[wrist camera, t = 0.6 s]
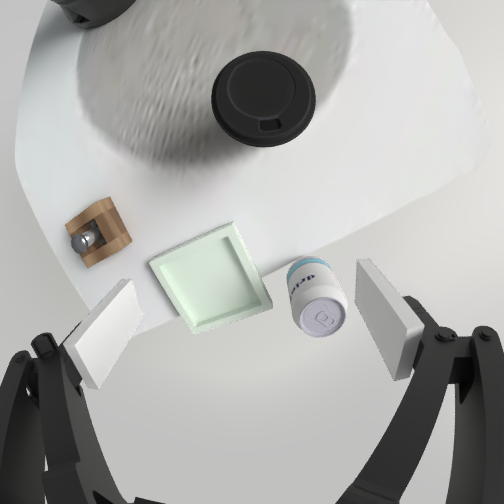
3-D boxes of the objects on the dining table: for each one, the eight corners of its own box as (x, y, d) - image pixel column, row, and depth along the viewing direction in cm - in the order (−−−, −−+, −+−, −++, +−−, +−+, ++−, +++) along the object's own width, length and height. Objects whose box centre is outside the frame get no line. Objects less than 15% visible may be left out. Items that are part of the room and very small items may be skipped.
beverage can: (305, 244, 41) (320, 281, 29) (339, 269, 42) (362, 311, 30) (277, 279, 43) (281, 325, 31) (311, 301, 44) (324, 349, 33)
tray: (153, 257, 42) (148, 262, 40) (233, 221, 40) (232, 224, 38) (195, 328, 47) (193, 335, 45) (272, 301, 44) (272, 308, 42)
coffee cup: (257, 162, 37) (254, 169, 23) (214, 111, 34) (185, 88, 20) (312, 122, 34) (341, 106, 20) (269, 71, 32) (271, 27, 18)
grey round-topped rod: (94, 225, 41) (68, 239, 34) (105, 218, 40) (79, 231, 33) (102, 240, 42) (77, 256, 34) (113, 233, 41) (88, 249, 34)
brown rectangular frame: (110, 196, 39) (96, 201, 35) (132, 240, 41) (121, 249, 38) (72, 222, 41) (59, 229, 37) (93, 262, 43) (81, 271, 39)
